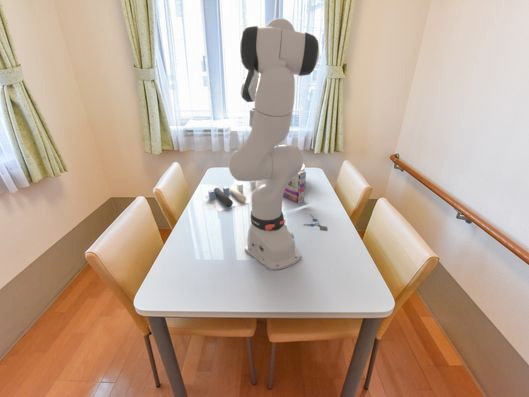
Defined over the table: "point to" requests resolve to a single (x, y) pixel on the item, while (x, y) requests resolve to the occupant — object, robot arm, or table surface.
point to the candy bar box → (296, 187)
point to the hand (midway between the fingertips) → (269, 135)
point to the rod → (237, 194)
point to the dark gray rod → (223, 197)
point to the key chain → (318, 225)
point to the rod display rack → (232, 196)
